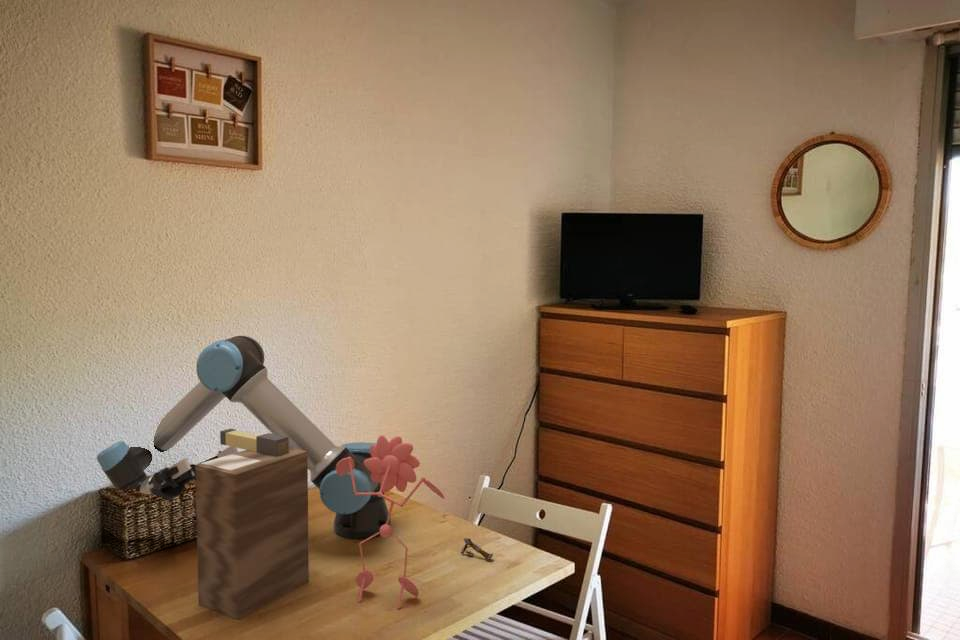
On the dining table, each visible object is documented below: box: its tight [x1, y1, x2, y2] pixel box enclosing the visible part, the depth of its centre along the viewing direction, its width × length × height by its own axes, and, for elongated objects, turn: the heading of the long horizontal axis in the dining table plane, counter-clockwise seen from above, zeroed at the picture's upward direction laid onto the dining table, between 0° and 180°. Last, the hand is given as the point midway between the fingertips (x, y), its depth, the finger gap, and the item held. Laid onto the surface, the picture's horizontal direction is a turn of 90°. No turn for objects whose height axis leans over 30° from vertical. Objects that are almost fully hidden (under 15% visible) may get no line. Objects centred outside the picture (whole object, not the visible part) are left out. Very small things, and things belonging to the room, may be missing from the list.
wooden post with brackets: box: [460, 537, 494, 562], centre depth 179 cm, size 2×8×4 cm, turn 64°
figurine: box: [336, 434, 445, 614], centre depth 160 cm, size 15×26×35 cm, turn 72°
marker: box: [219, 428, 289, 457], centre depth 163 cm, size 18×4×4 cm, turn 59°
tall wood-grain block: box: [195, 448, 310, 620], centre depth 158 cm, size 12×20×30 cm, turn 149°
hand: (212, 456), depth 171 cm, fingers open, 13 cm apart
